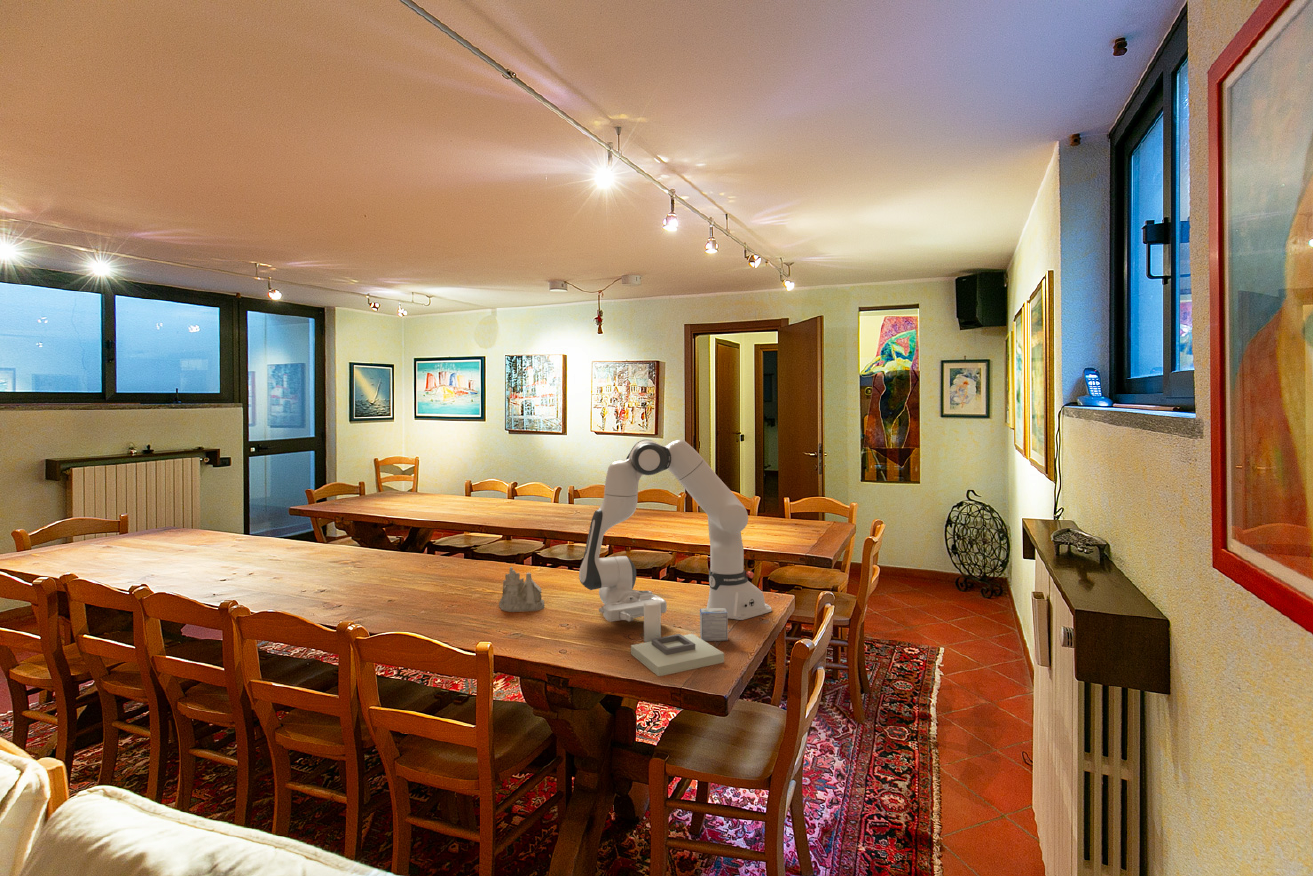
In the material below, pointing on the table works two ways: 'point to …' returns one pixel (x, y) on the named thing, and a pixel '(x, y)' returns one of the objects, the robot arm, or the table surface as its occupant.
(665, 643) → the slab with grey frame
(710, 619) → the medicine box
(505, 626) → the table surface
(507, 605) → the stone castle model
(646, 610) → the white rounded capsule
